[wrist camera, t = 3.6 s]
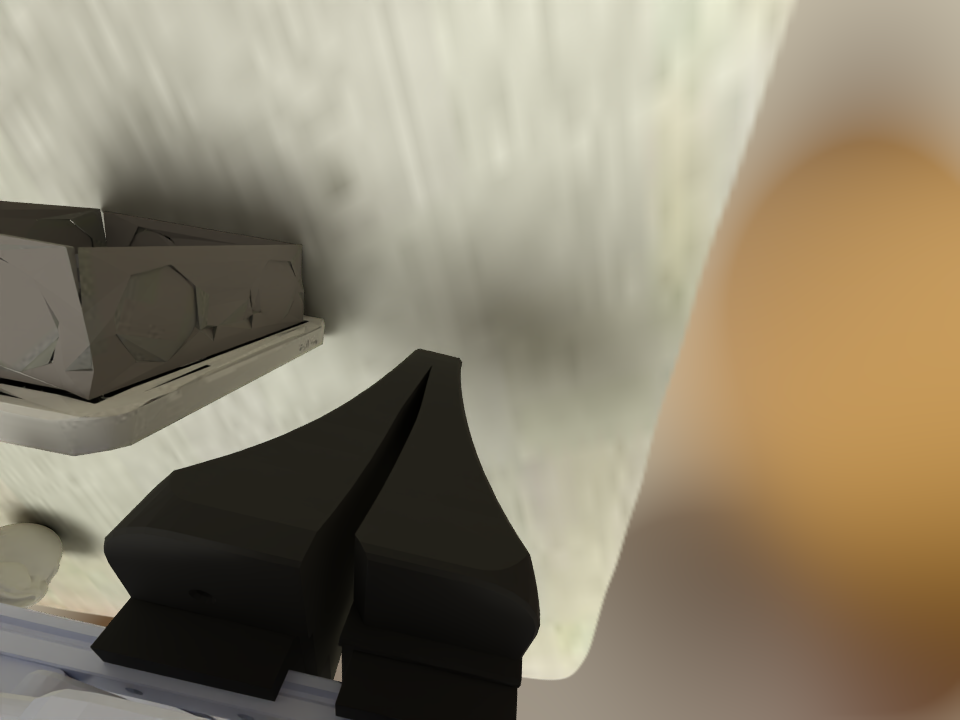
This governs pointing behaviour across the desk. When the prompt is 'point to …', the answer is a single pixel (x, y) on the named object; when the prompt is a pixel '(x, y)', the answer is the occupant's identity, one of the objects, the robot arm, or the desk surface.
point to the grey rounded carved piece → (27, 562)
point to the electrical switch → (134, 323)
